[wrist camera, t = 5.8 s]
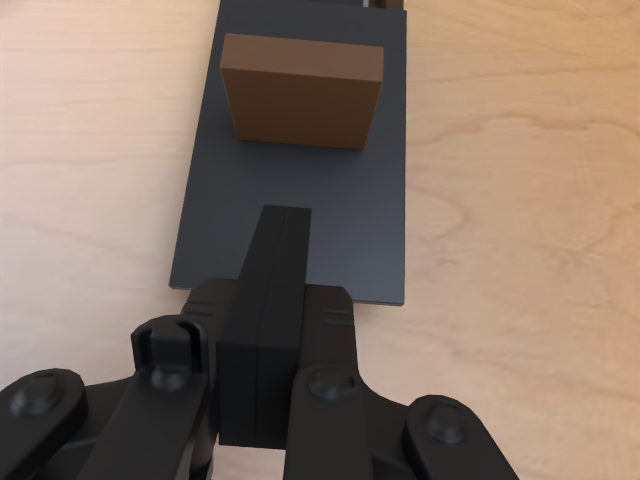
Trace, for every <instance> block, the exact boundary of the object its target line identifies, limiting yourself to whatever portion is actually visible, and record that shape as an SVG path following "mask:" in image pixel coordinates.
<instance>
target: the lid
mask: <svg viewBox="0 0 640 480" xmlns="http://www.w3.org/2000/svg"><path fill="white" fill-rule="evenodd" d="M406 32H407V11H406V10H395V9H384V8H373V7H362V6H351V5H340V4H329V3H318V2H307V1H296V0H221V1H220V6H219V12H218V17H217V23H216V28H215V34H214V39H213V44H212V50H211V55H210V61H209V66H208V72H207V77H206V83H205V88H204V94H203V99H202V105H201V110H200V116H199V121H198V127H197V132H196V138H195V143H194V149H193V154H192V160H191V165H190V171H189V176H188V182H187V187H186V193H185V198H184V204H183V209H182V215H181V220H180V226H179V231H178V237H177V242H176V248H175V253H174V259H173V264H172V270H171V275H170V281H169V287H171V288H172V289H181V290H192V289H193V287H195V286H196V285H197V284H199V283H200V282H201V281H203V280H204V279H205V278H207V277H210V278H223V279H235V280H238V277H239V274H240V271H241V268H242V266H243V263H244V260H245V257H246V254H247V252H248V249H249V246H250V243H251V240H252V237H253V235H254V232H255V229H256V226H257V223H258V221H259V218H260V215H261V212H262V209H263V207H264V204H265V205H277V206H289V207H301V208H312V211H311V224H310V237H309V249H308V262H307V275H306V284H316V285H328V286H341V287H344V288H345V290H346V291H347V292H348V294H349V295H350V296H351V298H352V302H353V303H363V304H376V305H389V306H402V305H404V277H405V154H406Z"/></svg>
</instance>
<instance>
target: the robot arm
mask: <svg viewBox="0 0 640 480" xmlns="http://www.w3.org/2000/svg"><path fill="white" fill-rule="evenodd" d="M311 211H312V208H301V207H289V206H277V205H265V204H264V207H263V209H262V212H261V215H260V218H259V221H258V223H257V226H256V229H255V232H254V235H253V237H252V240H251V243H250V246H249V249H248V252H247V254H246V257H245V260H244V263H243V266H242V268H241V271H240V274H239V277H238V280H235V279H223V278H210V277H207V278H205V279H204V280H203V281H201V282H200V283H199V284H197V285H196V286H195V287H193V289H192V291H191V293H190V295H189V297H188V299H187V303H185V305H184V307H183V309H182V311H181V314H180V315H165V316H161V317H158V318H154V319H151V320H149V321H147V322H145V323H144V324H142V325H140V326H139V327H138V328H137V329H136V330H135V331H134V332H133V333H132V334H131V342H132V348H133V355H134V362H135V369H136V371H135V373H134V375H133V376H131V377H128V378H126V379H122V380H118V381H113V382H107V383H101V384H95V385H89V386H84V383H83V381H82V379H81V377H80V375H79V374H77V373H75V372H73V371H71V370H68V369H58V368H53V369H47V370H40V371H37V372H34V373H31V374H29V375H26V376H23V377H21V378H20V379H18V380H16V381H15V382H13V383H12V384H10V385H9V386H7V387H6V388H4V389H3V390H2V391H1V392H0V480H211V477H212V473H213V449H214V445H215V442H216V438H217V434H218V433H219V445H225V446H239V447H253V448H267V449H281V450H286V455H285V464H284V474H283V480H520V479H519V478H518V476H517V475H516V473H515V472H514V470H513V469H512V467H511V466H510V464H509V463H508V461H507V460H506V458H505V457H504V455H503V454H502V452H501V451H500V449H499V448H498V446H497V445H496V443H495V441H494V440H493V438H492V437H491V435H490V434H489V432H488V431H487V429H486V428H485V426H484V425H483V423H482V422H481V420H480V419H479V418H478V417H477V416H476V415H475V413H474V412H473V411H472V410H471V409H470V408H469V407H467V406H465V405H464V404H462V403H461V402H459V401H458V400H455V399H452V398H449V397H446V396H443V395H426V396H423V397H419V398H417V399H416V400H415V401H414V402H413V403H411V404H410V405H409V407H408V406H405V405H403V404H400V403H397V402H394V401H391V400H389V399H386V398H384V397H382V396H380V395H378V394H377V393H375V392H374V391H372V390H371V389H370V388H369V387H368V386H367V385H366V384H365V383H364V381H363V380H362V378H361V376H360V374H359V370H358V362H357V350H356V338H355V326H354V315H353V302H352V298H351V296H350V295H349V294H348V292H347V291H346V290H345V288H344V287H341V286H328V285H316V284H306V275H307V262H308V249H309V237H310V224H311Z"/></svg>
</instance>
